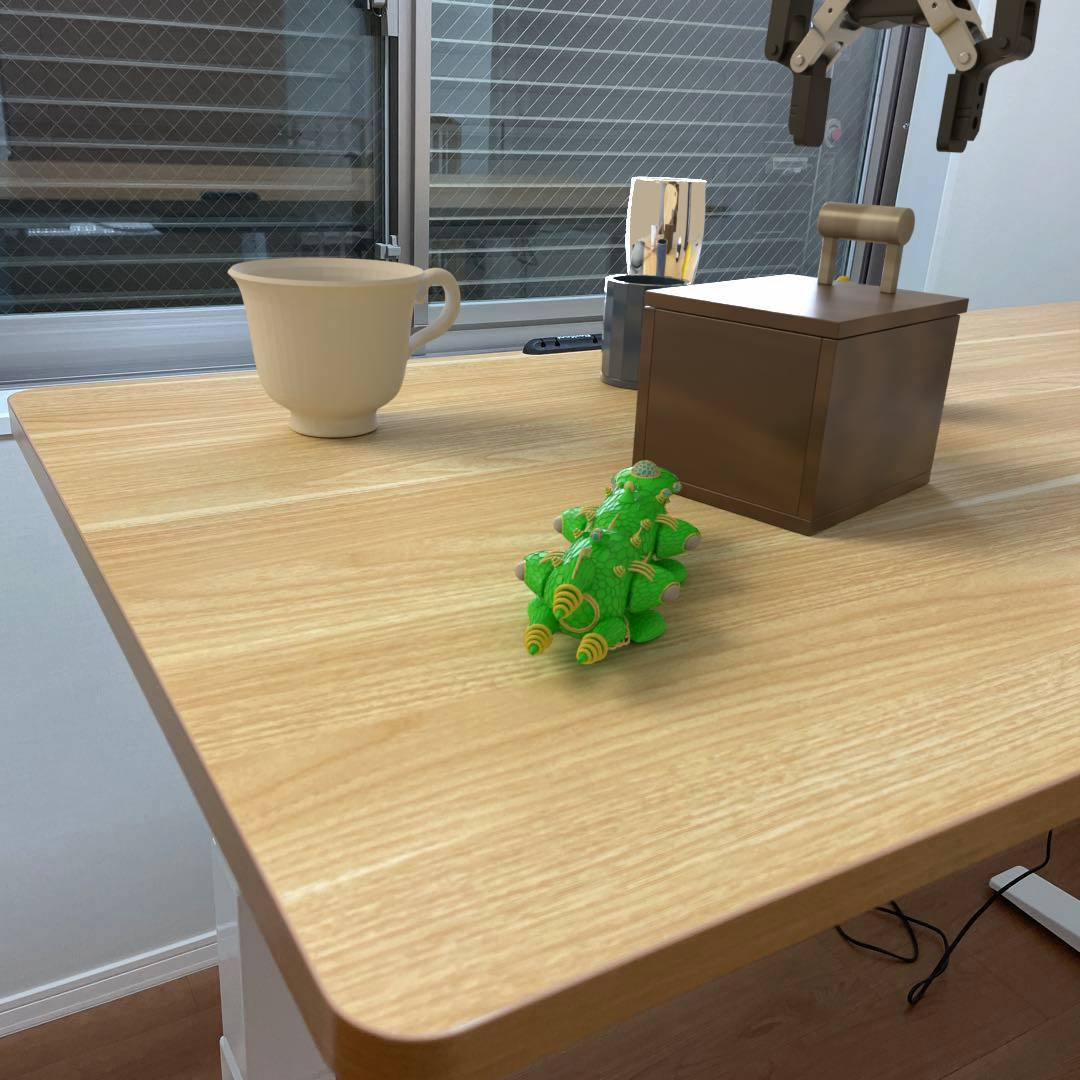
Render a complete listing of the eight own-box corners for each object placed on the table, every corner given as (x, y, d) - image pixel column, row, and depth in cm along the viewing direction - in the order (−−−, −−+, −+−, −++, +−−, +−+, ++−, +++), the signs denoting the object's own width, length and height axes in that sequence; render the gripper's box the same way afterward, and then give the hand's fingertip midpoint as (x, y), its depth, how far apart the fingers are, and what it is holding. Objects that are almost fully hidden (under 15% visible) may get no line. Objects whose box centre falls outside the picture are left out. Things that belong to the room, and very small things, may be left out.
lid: (787, 286, 65) (798, 197, 63) (967, 312, 58) (986, 211, 56) (643, 305, 55) (651, 200, 53) (837, 339, 48) (854, 218, 46)
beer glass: (680, 341, 100) (694, 178, 95) (702, 355, 94) (719, 182, 89) (610, 341, 99) (621, 176, 94) (628, 355, 93) (641, 179, 87)
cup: (635, 368, 88) (642, 272, 85) (698, 382, 84) (707, 282, 81) (583, 378, 83) (588, 277, 80) (646, 394, 79) (655, 287, 76)
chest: (761, 439, 68) (780, 288, 65) (929, 482, 61) (960, 314, 57) (630, 479, 59) (643, 306, 55) (808, 536, 52) (837, 340, 48)
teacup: (498, 435, 67) (502, 277, 63) (271, 462, 59) (261, 285, 56) (420, 394, 76) (420, 254, 73) (216, 413, 69) (205, 259, 65)
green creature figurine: (713, 535, 51) (722, 452, 49) (646, 714, 35) (657, 599, 33) (584, 518, 53) (589, 437, 51) (463, 681, 36) (464, 570, 35)
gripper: (1105, -207, 49) (1031, 156, 55) (837, -161, 58) (798, 146, 64) (1047, -252, 44) (973, 153, 50) (763, -194, 53) (728, 143, 59)
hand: (875, 149), depth 57 cm, fingers open, 8 cm apart
